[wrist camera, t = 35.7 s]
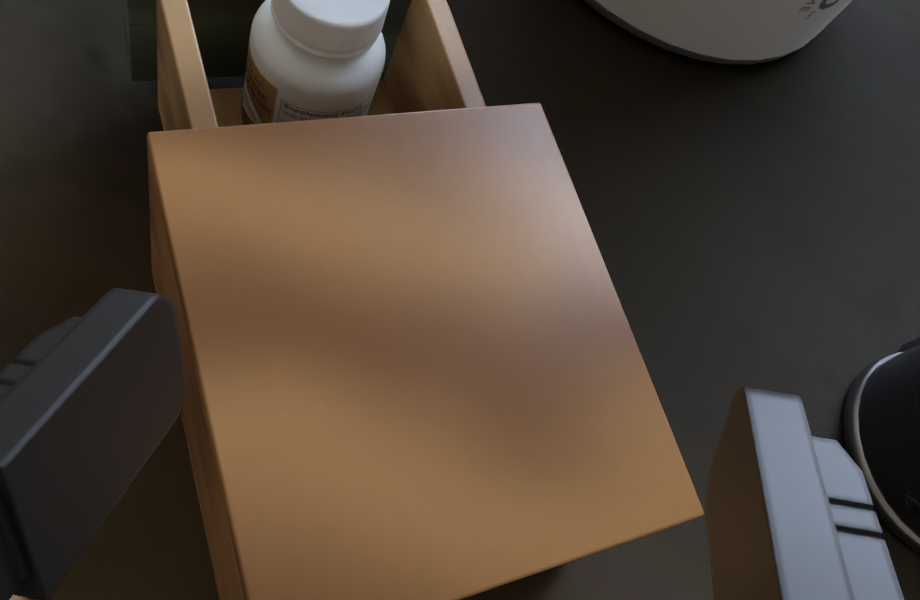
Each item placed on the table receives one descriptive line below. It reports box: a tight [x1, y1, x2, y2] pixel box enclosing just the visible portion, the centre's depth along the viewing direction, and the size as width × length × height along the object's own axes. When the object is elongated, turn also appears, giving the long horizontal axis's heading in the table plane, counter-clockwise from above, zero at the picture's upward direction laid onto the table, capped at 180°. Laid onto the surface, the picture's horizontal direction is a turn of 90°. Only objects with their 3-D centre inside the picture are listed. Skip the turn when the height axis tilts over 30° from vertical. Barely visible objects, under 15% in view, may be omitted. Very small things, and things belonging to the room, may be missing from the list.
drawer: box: [123, 0, 486, 131], centre depth 29 cm, size 18×11×7 cm, turn 18°
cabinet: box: [147, 103, 704, 600], centre depth 25 cm, size 14×12×9 cm
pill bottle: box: [240, 0, 390, 125], centre depth 27 cm, size 4×4×8 cm
